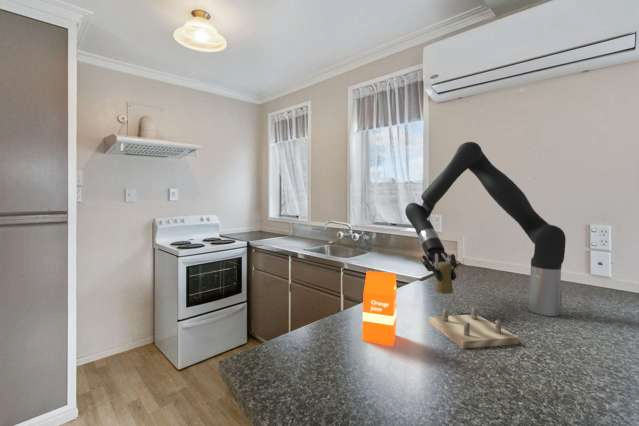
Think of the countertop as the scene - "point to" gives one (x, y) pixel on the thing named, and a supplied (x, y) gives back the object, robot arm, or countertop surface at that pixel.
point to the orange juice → (379, 308)
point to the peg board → (472, 330)
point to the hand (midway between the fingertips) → (447, 279)
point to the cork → (445, 278)
